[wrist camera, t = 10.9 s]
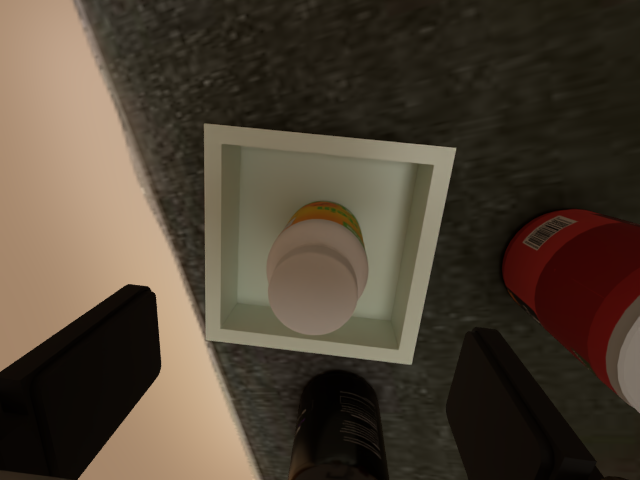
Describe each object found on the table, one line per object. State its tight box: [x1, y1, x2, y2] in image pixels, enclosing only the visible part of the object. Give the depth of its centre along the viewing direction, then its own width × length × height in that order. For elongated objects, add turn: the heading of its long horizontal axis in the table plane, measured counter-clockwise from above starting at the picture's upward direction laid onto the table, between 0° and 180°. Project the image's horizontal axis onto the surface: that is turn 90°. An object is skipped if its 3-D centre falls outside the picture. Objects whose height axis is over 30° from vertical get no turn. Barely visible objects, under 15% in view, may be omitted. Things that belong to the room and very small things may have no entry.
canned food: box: [502, 209, 640, 413], centre depth 19 cm, size 8×8×11 cm
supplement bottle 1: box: [266, 200, 369, 335], centre depth 19 cm, size 5×5×10 cm
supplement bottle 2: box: [288, 373, 389, 480], centre depth 23 cm, size 7×7×12 cm
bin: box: [204, 124, 456, 365], centre depth 22 cm, size 14×14×4 cm
